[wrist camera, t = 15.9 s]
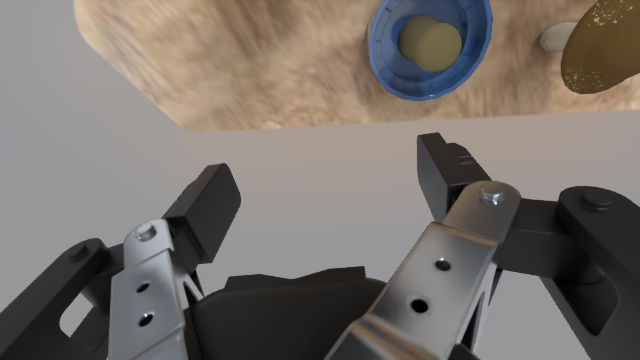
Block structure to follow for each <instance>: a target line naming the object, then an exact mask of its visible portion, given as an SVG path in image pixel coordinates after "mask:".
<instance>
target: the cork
mask: <svg viewBox="0 0 640 360" xmlns="http://www.w3.org/2000/svg"><path fill="white" fill-rule="evenodd" d="M397 46H398V50H399V52H400V54H401V55H402V56H403V57H404V58H405V59H407V60H410V61H414V62H416V63H417V65H418V66H419V67H420V68H421V69H423V70H425V71H427V72H439V71H443V70H445V69H447V68H448V67H450V66H451V65H452V64H453V63H454V62H455V61H456V59H457V58H458V56H459V54H460V51H461V47H462V43H461V37H460V34H459V32H458V30H457V29H456V28H455V27H453V26H452V25H449V24H447V23H438V22H437V21H436V20H435V19H434V18H432V17H430V16H428V15H417V16H414V17H412V18H410V19H409V20H408V21H406V22H405V23H404V25H403V26H402V27H401V29H400V31H399V34H398V38H397Z"/></svg>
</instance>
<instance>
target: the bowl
mask: <svg viewBox="0 0 640 360" xmlns="http://www.w3.org/2000/svg"><path fill="white" fill-rule="evenodd" d="M417 15H428V16H430V17H432V18H434V19H435V20H436V21H437V22H438V23H447V24H449V25H452V26H453V27H455V28H456V29H457V30H458V32H459V34H460V37H461V43H462V47H461V51H460V54H459V56H458V58H457V59H456V61H455V62H454V63H453V64H452V65H451V66H450V67H448V68H447V69H445V70H443V71H439V72H427V71H425V70H423V69H421V68H420V67H419V66H418V65H417V63H416V62H414V61H410V60H407V59H405V58H404V57H403V56H402V55H401V54H400V52H399V50H398V46H397V38H398V34H399V31H400V29H401V27H402V26H403V25H404V23H405V22H406V21H408V20H409V19H410V18H412V17H414V16H417ZM492 22H493V17H492V12H491V7H490V2H489V0H380V1H379V2H378V3H377V5H376V8H375V10H374V12H373V14H372V16H371V18H370V20H369V23H368V29H367V34H366V50H367V58H368V60H369V63H370V65H371V67H372V70H373V72H374V74H375V76H376V79H377V80H378V81H379V82H380V83H381V85H382V86H383V87H384V88H385V89H386V90H387V91H388V92H390V93H392V94H394V95H396V96H398V97H400V98H402V99H406V100H413V101H424V100H430V99H436V98H438V97H441V96H443V95H445V94H447V93H449V92H451V91H453V90H455V89H456V88H457V87H458V86H460V85H461V84H462V83H463V82H465V81H466V80H467V79H468V78H469V77H470V76H471V75H472V73H473V72H474V71H475V69H476V68H477V67H478V65H479V64H480V63H481V61H482V59H483V57H484V55H485V52H486V50H487V47H488V45H489V42H490V39H491V31H492Z"/></svg>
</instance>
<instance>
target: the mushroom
mask: <svg viewBox="0 0 640 360" xmlns="http://www.w3.org/2000/svg"><path fill="white" fill-rule="evenodd" d="M539 41H540V45H541V47H542V48H543V49H544V50H547V51H552V52H558V51H563V55H562V60H561V76H562V79H563V81H564V83H565V86H566V87H568V88H569V89H570V90H571V91H572V92H575V93H579V94H593V93H598V92H601V91H604V90H607V89H609V88H611V87H613V86H615V85H617V84H619V83H621V82H622V81H624V80H625V79H627V78H629V77H631V76H634V75H636V74H638V73H640V0H599V1H597V2H596V3H595V4H594V5H593V6H592V7H591V8H590V9H589V10H588V11H587V12H586V14H585V15H584V16H583V17H582V18H581V19H580V21H579V22H578V23H577V22H561V23H556V24H554V25H552V26H550V27H549V28H547V29H546V30H545V31H544V32H543V33H542V35H541V37H540V40H539Z"/></svg>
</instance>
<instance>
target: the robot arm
mask: <svg viewBox="0 0 640 360" xmlns="http://www.w3.org/2000/svg"><path fill="white" fill-rule="evenodd" d="M417 173H418V179H419V184H420V187H421V189H422V191H423V194H424V196H425V198H426V201H427V203H428V206H429V208H430V210H431V213H432V215H433V217H434V220H435V222H434V221H433V222H431V223H430V224H429V225H428V226H427V228H426V229H425V231H424V232H423V234H422V235H421V236H420V238H419V239H418V240H417V242H416V243H415V245H414V246H413V248H412V249H411V250H410V252H409V253H408V255H407V256H406V257H405V259H404V260H403V262H402V263H401V265H400V266H399V267H398V269H397V270H396V272H395V273H394V275H393V276H392V277H391V279H390V280H389V282H388V283H386V282H383V281H380V280H377V279H373V278H367V277H366V273H365V267H364V266H359V267H347V268H334V269H327V270H323V271H320V272H317V273H313V274H310V275H307V276H303V277H300V278H296V279H286V278H280V277H274V276H268V275H262V274H256V275H243V276H230V277H229V278H228V280H227V283H226V285H225V288H223V289H221V290H218V291H216V292H213V293H211V294H209V295H207V294H206V291H205V288H204V285H203V282H202V279H201V276H200V274H199V272H198V271H197V269H196V267H197V265H198V264H205V263H212V262H213V260H214V258H215V255H216V254H217V252H218V250H219V247H220V246H221V244H222V241H223V240H224V237H225V235H226V233H227V231H228V229H229V227H230V225H231V223H232V221H233V219H234V217H235V215H236V213H237V211H238V208H239V207H240V204H241V196H240V192H239V190H238V187H237V185H236V183H235V180H234V178H233V176H232V174H231V171H230V169H229V167H228V166H227V164H225V163H222V164H216V165H209V166H207V167H206V168H205V169H204V171H203V172H202V173H201V174H200V175H199V176H198V178H197V179H196V180H195V181H193V182H192V183H191V184H189V185H188V186H187V187H186V189H185V190H184V191H183V192H182V194H181V195H180V196H179V197H178V199H177V201H175V202H174V203H173V204H172V206H171V207H170V208H169V209H168V211H167V212H166V213H165V214H164V215H163V217H162V218H161V219H153V220H150V221H147V222H145V223H143V224H141V225H139V226H137V227H136V228H134V229H133V230H132V231H131V232H130V233H129V234H128V235H127V236H126V238H125V240H124V243H122V244H119V245H116V246H112V247H110V248H107V247H106V246H105V244H104V243H103V242H102V241H101V240H100V239H98V238H92V239H88V240H85V241H82V242H80V243H78V244H76V245H74V246H73V247H71V248H69V249H68V250H66V251H65V252H64V253H63V254H61V255H60V256H59V257H58V258H57V259H56V260H55V261H54V262H53V263H52V264H51V265H50V266H49V267H48V268H47V269H46V270H45V271H44V272H43V273H42V274H40V275H39V276H38V277H37V278H36V279H35V280H34V281H33V282H32V283H31V284H30V285H29V286H28V287H27V288H26V289H25V290H24V291H23V292H22V293H21V294H20V295H19V296H18V297H17V298H16V299H15V300H13V301H12V302H11V303H10V304H9V305H8V306H7V307H6V308H5V309H4V310H3V311H2V312H1V313H0V360H106V359H107V357H108V360H480V359H479V358H478V357H477V356H476V355H474V354H475V352H476V349H477V346H478V343H479V341H480V337H481V334H482V331H483V327H484V324H485V321H486V318H487V315H488V313H489V310H490V307H491V305H492V302H493V300H494V297H495V294H496V292H497V289H498V287H499V284H500V282H501V279H502V276H503V274H504V271H505V270H508V271H513V272H518V273H524V274H530V275H536V276H539V277H540V279H541V281H542V282H543V284H544V285H545V287H546V289H547V290H548V292H549V293H550V295H551V297H552V298H553V300H554V301H555V303H556V305H557V306H558V308H559V309H560V311H561V312H562V314H563V316H564V317H565V319H566V320H567V322H568V323H569V325H570V327H571V329H572V330H573V331H574V333H575V335H576V337H577V338H578V340H579V341H580V343H581V344H582V346H583V348H584V349H585V351H586V352H587V354H588V356H589V357H590V359H591V360H640V207H638V206H637V205H636V204H634V203H633V202H632V201H631V200H629V199H628V198H626V197H625V196H623V195H621V194H618V193H616V192H613V191H610V190H607V189H603V188H598V187H591V186H575V187H570V188H567V189H565V190H563V191H562V192H561V193H560V196H559V199H558V202H557V201H556V202H555V201H543V200H531V199H525V198H521V195H520V193H519V192H518V190H516V189H515V188H514V187H512V186H510V185H508V184H505V183H502V182H498V181H492V180H491V179H490V177H489V176H488V175H487V174H486V172H485V171H484V170H483V169H482V167H481V166H480V165H479V164H478V163H476V160H475V159H474V158H473V157H471V154H470V153H469V152H468V151H467V149H466V148H464V147H462V146H460V145H458V144H456V143H448V144H447V143H446V142H445V140H444V139H443V138H442V136H441V135H440V133H438V132H437V133H430V134H423V135H418V137H417ZM79 293H81V294H82V295H83V296H84V297H85V298H86V299H87V300H88V301H90V303H92V305H93V306H94V307H93V308H92V309H91V311H90V312H89V313H88V314H87V316H86V317H85V318H84V320H83V321H82V322H81V324H80V325H79V326H78V328H77V329H76V330H75V332H74V333H73V334H72V335H71V337H68V336H67V335H66V334H65V333H64V332H63V331H62V330H61V329H60V325H59V321H60V318H61V316H62V314H63V312H64V311H65V310H66V308H67V307H68V306H69V305H70V304H71V303H72V302H73V300H74V299H75V298H76V297H77V296H78V294H79Z"/></svg>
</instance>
